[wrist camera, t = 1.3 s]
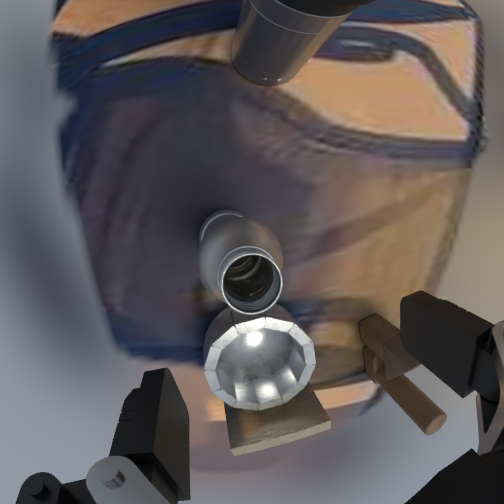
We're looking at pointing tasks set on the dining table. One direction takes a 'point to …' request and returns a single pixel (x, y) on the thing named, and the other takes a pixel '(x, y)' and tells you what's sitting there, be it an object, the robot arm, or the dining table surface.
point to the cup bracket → (263, 378)
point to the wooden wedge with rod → (397, 372)
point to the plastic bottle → (240, 262)
